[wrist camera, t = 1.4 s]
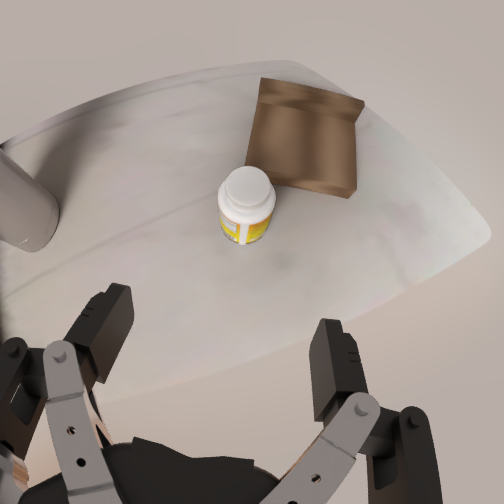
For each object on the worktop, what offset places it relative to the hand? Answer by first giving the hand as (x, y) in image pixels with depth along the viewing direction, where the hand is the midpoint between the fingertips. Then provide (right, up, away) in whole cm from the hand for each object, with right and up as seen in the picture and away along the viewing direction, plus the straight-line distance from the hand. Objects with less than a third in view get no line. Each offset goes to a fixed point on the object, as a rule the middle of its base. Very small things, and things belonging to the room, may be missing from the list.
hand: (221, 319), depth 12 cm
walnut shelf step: (+8, +17, +26) cm, 32 cm away
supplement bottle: (0, +6, +23) cm, 24 cm away
